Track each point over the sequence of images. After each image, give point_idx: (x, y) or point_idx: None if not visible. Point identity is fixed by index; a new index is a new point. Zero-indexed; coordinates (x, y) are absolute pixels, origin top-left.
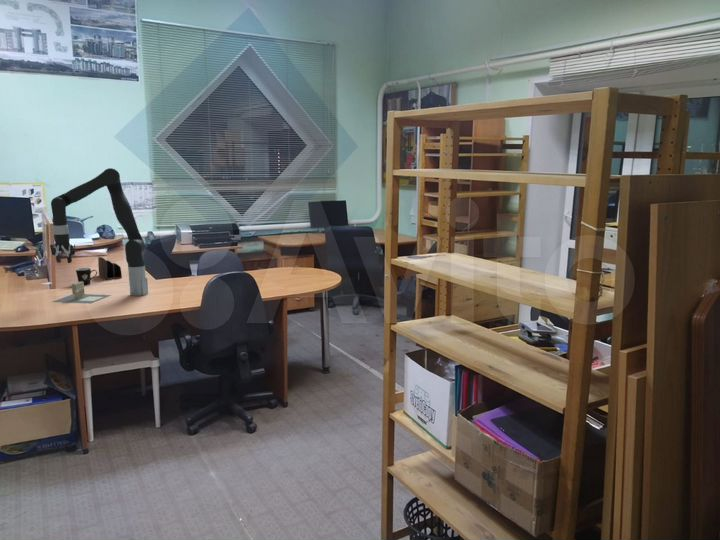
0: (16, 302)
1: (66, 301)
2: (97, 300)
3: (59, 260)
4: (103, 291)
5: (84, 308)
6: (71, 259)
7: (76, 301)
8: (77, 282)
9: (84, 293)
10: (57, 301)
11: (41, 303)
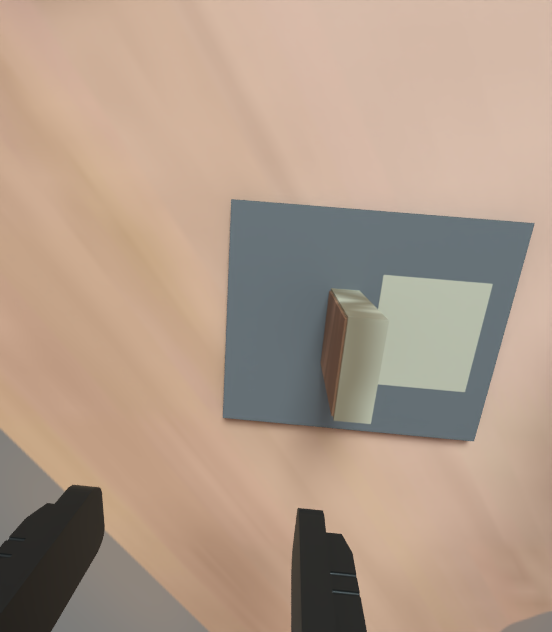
0: (16, 391)
1: (305, 404)
2: (484, 375)
3: (77, 550)
4: (387, 33)
5: (458, 492)
6: (357, 591)
7: None
8: (348, 355)
9: (364, 296)
10: (252, 406)
11: (167, 407)
